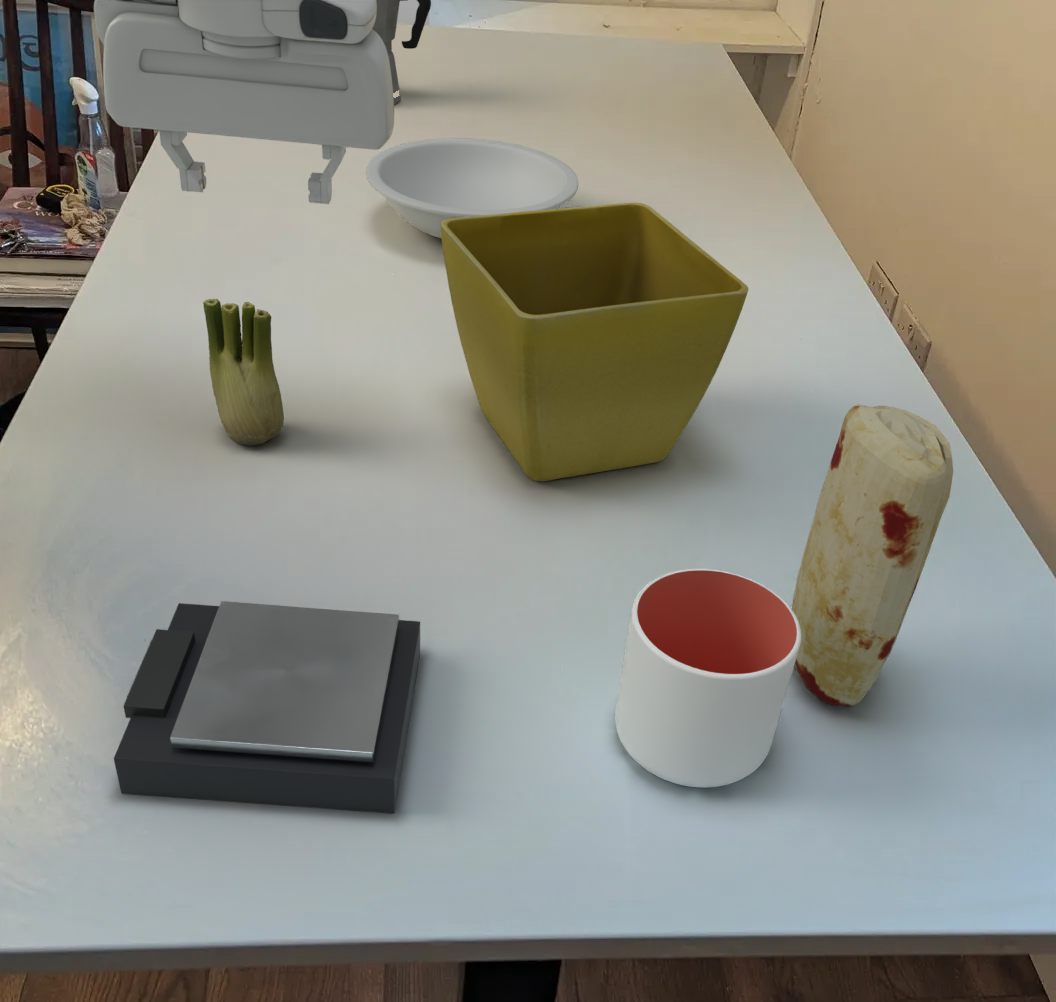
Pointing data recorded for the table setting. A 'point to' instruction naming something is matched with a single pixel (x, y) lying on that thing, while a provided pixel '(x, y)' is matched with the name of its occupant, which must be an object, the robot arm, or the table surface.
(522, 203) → the soup bowl
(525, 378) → the flower pot
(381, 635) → the scale pan
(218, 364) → the fennel bulb
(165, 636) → the scale
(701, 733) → the cup
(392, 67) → the coffeepot
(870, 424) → the food model
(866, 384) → the table surface
